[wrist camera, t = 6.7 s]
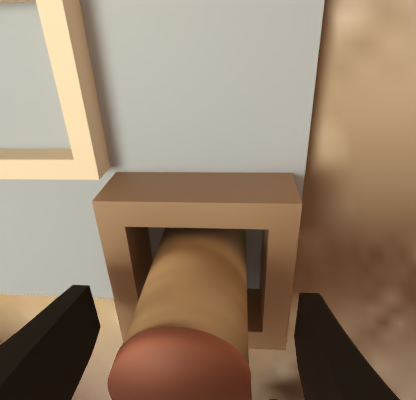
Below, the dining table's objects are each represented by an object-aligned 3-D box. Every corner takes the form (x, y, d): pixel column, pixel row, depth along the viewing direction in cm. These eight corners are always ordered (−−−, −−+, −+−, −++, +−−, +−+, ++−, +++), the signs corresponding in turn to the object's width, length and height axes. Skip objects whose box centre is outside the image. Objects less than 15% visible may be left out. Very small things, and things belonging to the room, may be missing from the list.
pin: (172, 274, 16) (128, 435, 10) (155, 206, 14) (88, 349, 8) (250, 269, 15) (257, 436, 9) (242, 198, 13) (244, 345, 7)
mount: (11, 280, 18) (-35, 333, 15) (-113, -23, 12) (-239, -39, 9) (287, 290, 17) (297, 350, 14) (323, -47, 10) (357, -76, 7)
